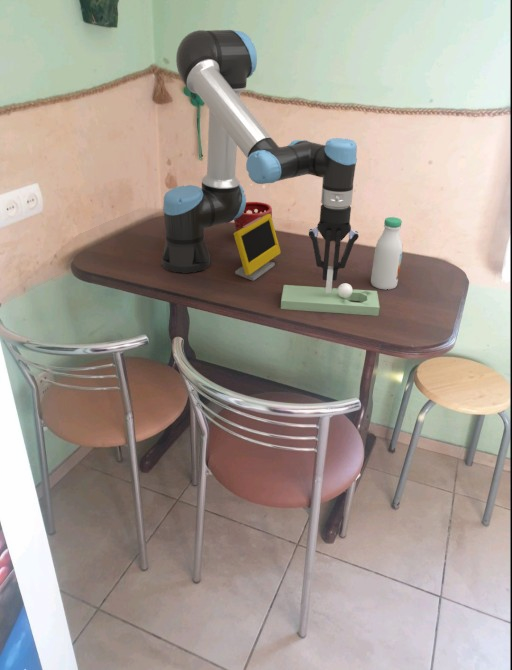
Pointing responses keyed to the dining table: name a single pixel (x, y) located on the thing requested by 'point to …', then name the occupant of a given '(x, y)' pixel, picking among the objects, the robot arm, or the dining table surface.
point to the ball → (345, 290)
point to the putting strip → (329, 300)
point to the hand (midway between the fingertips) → (328, 290)
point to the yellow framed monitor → (257, 247)
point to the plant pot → (248, 218)
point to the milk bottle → (387, 256)
